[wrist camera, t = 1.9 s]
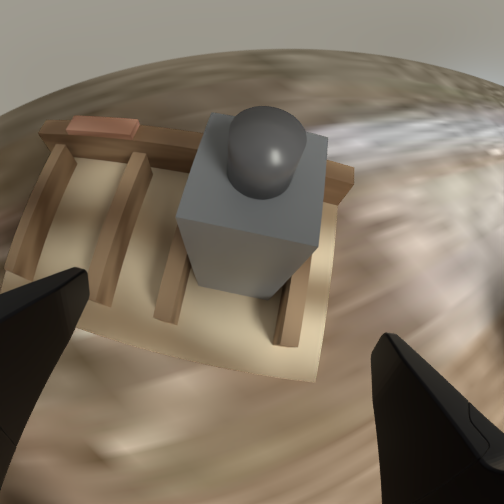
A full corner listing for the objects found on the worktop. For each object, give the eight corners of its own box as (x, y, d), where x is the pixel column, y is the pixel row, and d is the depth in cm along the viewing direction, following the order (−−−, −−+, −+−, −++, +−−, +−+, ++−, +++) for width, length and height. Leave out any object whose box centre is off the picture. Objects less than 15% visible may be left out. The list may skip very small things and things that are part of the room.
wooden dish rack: (311, 381, 19) (336, 389, 14) (5, 297, 18) (-31, 284, 13) (335, 194, 23) (357, 162, 19) (63, 147, 22) (43, 115, 18)
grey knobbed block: (268, 300, 19) (341, 221, 7) (198, 285, 19) (165, 184, 7) (279, 235, 21) (344, 102, 9) (214, 221, 21) (211, 73, 9)
